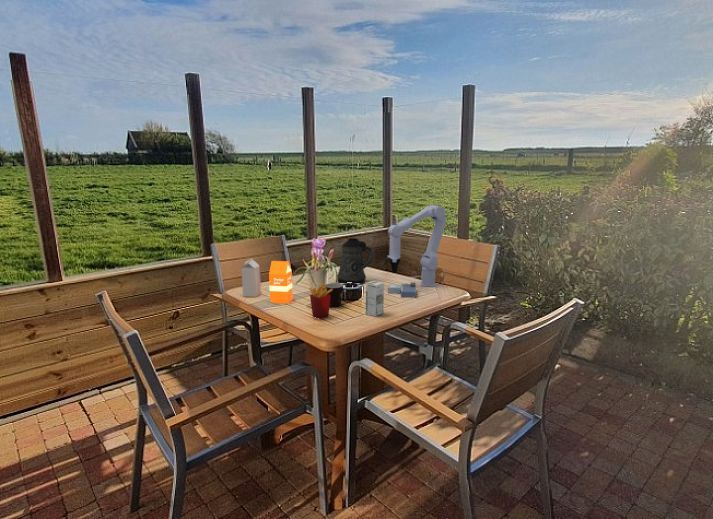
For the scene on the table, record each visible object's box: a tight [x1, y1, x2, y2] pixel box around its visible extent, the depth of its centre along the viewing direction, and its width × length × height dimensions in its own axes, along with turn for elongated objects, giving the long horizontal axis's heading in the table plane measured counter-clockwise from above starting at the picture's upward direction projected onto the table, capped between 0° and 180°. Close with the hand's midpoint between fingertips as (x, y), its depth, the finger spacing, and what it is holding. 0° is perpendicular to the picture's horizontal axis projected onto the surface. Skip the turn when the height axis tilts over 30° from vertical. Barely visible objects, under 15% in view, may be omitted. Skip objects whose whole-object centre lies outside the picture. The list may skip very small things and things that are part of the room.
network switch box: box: [400, 282, 417, 298], centre depth 218 cm, size 14×8×4 cm, turn 173°
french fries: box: [309, 283, 333, 320], centre depth 183 cm, size 9×8×15 cm
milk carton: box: [240, 257, 262, 298], centre depth 216 cm, size 7×7×19 cm
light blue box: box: [387, 284, 401, 294], centre depth 221 cm, size 6×6×3 cm
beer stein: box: [336, 237, 374, 285], centre depth 241 cm, size 16×19×25 cm
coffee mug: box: [325, 282, 344, 309], centre depth 200 cm, size 12×9×10 cm
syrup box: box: [365, 280, 385, 317], centre depth 186 cm, size 6×6×14 cm
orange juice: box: [268, 260, 294, 304], centre depth 206 cm, size 8×9×20 cm
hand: (394, 272), depth 227 cm, fingers closed
